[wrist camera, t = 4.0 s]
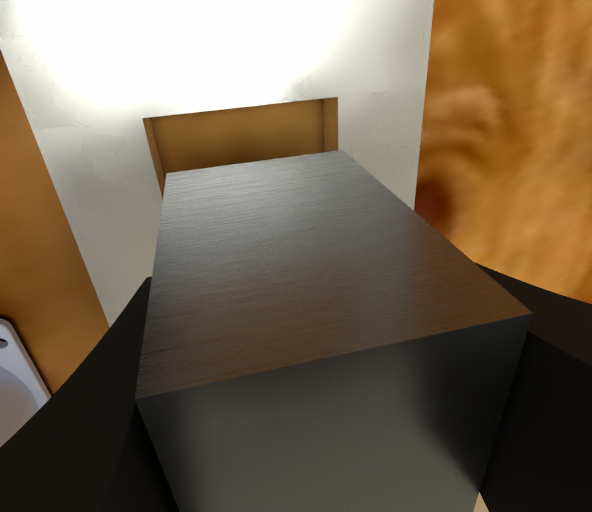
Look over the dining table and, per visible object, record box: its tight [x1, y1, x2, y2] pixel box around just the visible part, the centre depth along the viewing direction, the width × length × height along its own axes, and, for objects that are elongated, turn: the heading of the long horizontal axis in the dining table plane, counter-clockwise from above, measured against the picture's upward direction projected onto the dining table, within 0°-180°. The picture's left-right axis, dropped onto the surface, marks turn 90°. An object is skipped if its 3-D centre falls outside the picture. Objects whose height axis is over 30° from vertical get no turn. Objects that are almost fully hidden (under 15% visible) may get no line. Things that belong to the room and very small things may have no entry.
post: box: [135, 150, 533, 512], centre depth 9 cm, size 4×4×7 cm
